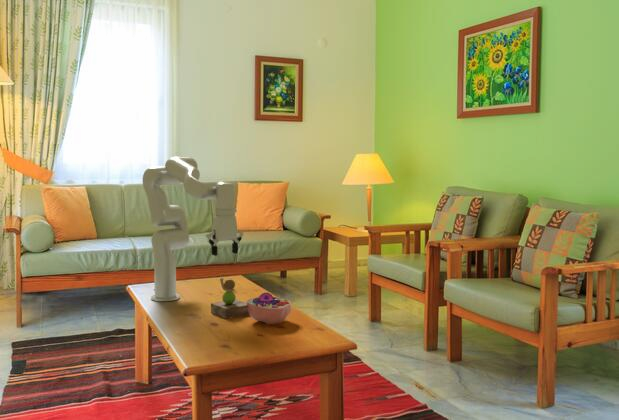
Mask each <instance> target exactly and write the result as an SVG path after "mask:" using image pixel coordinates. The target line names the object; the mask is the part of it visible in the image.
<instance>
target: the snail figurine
mask: <svg viewBox="0 0 619 420" xmlns="http://www.w3.org/2000/svg"><path fill="white" fill-rule="evenodd" d="M219 277H220V279H219V281H220V285H221V288H222V290H223V291H225V292H224V293H223V294H222V297H221V298H222V302H224V303H226V304H232V303H234V301H235V299H236V298H237V297H236V294H235V293H234V291H236V289H235V287H236V283H235V281H234V280H233V279H230V278H229V279H226V280H225V281H224V278H222V274H220V275H219ZM236 300H237V299H236Z"/></svg>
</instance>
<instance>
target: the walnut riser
mask: <svg viewBox="0 0 619 420" xmlns="http://www.w3.org/2000/svg"><path fill="white" fill-rule="evenodd" d="M210 313H211V314H213V315H216V316H218V317H221V318H223V319H226V320H227V319H232V318H237V317H238V318H239V317H244V316H250V315H249V313H248V306H247V303H246V301H245V302H244V301H241V300H239V299H235V301H234V303H232V304H226V303H224V302H223V301H218V302H211V303H210Z"/></svg>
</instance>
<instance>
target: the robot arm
mask: <svg viewBox="0 0 619 420" xmlns="http://www.w3.org/2000/svg"><path fill="white" fill-rule="evenodd" d="M198 166H199V165H198V163H197V161H196V160H195V159H194V158H193V157H189V156H172V157H170V158H168V159H167V160H166V162H165V164H164V165H158V166H157V165H156V166H151V167H148V168H146V169H145V171H144V172H143V175H142V186H143V187H142V188H143V189H144V192H145V194H146V198H147V202H148V203H147V204H148V209H149V215H150V220H151V223H152V224H153V226H154V227H158V228H160V227H161V228H163V227H171V228H164V229H159V230H156V231H154V233H153V234H152V235H151V238H150V239H151V245H152V246H151V247H152V251H153V252H152V253H153V265H154V266H153V269H154V271H153V273H154V289H153V291H154V294H153V295H151V297H150V298H151V299H150V300H152V301H155V302H172V301H177V300H179V299H180V297H181V295H180V294H179V293H177V267H176V266H177V265H176V264H177V263H176V261H177V260H176V257H175V255H174V253H173V251H174V250H179V249H185V248H186V247H187V246H188V244H189V243H190V234H189V230H188V229H189V228H188V224H187V218H186V212H185V211H184V209H183V208H182V207H181V206H180V205H177V204H169V202H168V197H167V194H166V192H165V191H164V189H163V188H162V187H161V186H172V185H173V186H174V185H179V184H183V187H184V190H185V192H186V194H189V196H191V197H193V198H195V199H197V200H198V201H199V200H201V201H206V200H207V201H208V200H215V215H214V216H213V218H212V224H211V225H212V226H211V231H210V232H209V233H208V234H206V235H205V238H206V240H207V242H208V243H209V245H210V246H211V248H210V249H211V250H210V251H211V255H212V256H215V257H217V256H218V243H219V242H223V241H224V242H226V241H232V244H231V252H232V253H233V254H235V255H236V254H238V251H239V244H240V242H241V241H242V239H243V236H244V232H242V231H240V230H239V229H238V223H237V222H238V221H237V217H236V215H235V214H236V213H237V209H236V208H235V190H236V189H235V188H236V187H235V185H234V183H232V182H223V181H220V180H219V181H218V180H214V181H213V180H212V181H210V180H207V181H206V180H205V181H201V180H199V179H200V177H201V176H200V175H201V173H200V169H198ZM172 250H173V251H172Z"/></svg>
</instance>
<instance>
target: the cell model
mask: <svg viewBox="0 0 619 420" xmlns="http://www.w3.org/2000/svg"><path fill="white" fill-rule="evenodd" d="M245 303H247V306H248V313H249V315H248V316H250V318H252V320H255V321H257V322H263V323H265V324H267V325H274V324H280V323H283V322H284V321H285V320H286V319H287V317H288V316H289V315H290V314H291V312H292V303H291V300H289V299H286V298H282V297H279V296H278V297H276V296H273V295H272V294H271V293H270V292H263V293H261V294H260V295H259V296H258V297H253V298H250V299H247V300H245Z"/></svg>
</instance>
